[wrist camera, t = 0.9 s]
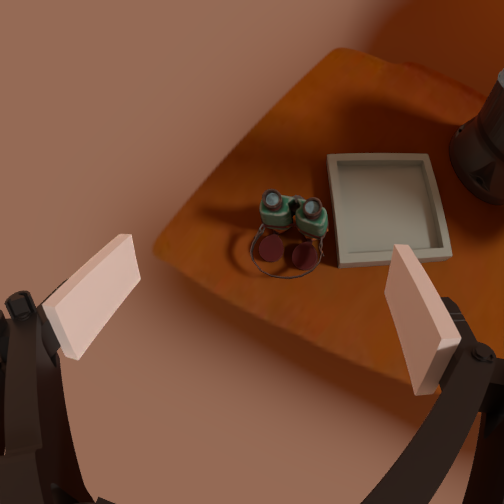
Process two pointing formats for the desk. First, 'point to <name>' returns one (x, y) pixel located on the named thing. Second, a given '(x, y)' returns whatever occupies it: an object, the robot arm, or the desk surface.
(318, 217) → the binoculars
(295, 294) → the desk surface
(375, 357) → the desk surface
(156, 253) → the desk surface
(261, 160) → the desk surface
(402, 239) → the tray
